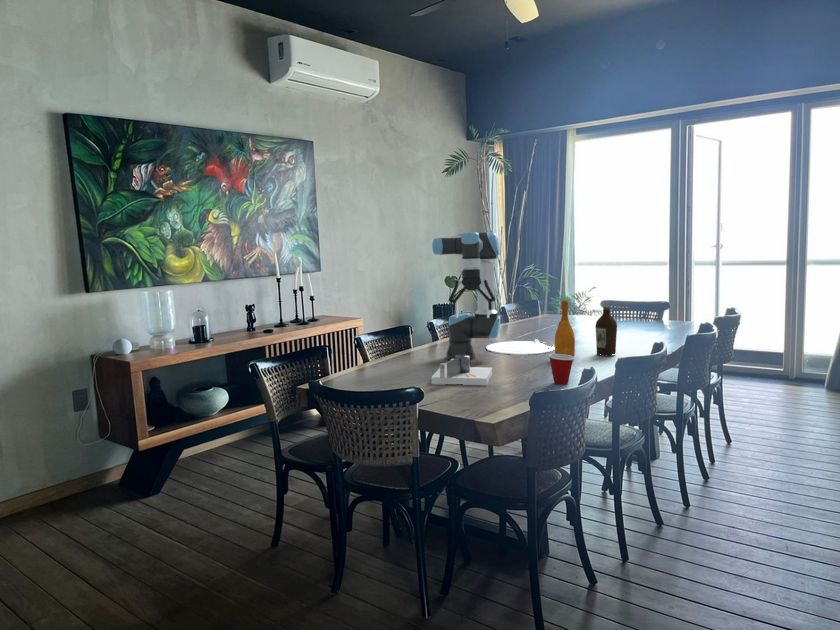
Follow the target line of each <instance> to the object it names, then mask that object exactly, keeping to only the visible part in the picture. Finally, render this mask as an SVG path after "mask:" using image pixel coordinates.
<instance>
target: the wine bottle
mask: <svg viewBox="0 0 840 630" xmlns="http://www.w3.org/2000/svg"><path fill="white" fill-rule="evenodd" d="M560 303H561V305H560V306H561V307H560V309H561V317H560V318H559V320H558V322H557V328H556V331H555V335H554V345H555V351H554V354H565V355H570V356H574V357H575V353H576V352H575V351H576V350H575V348H576V342H575V341H576V340H575V333H574V330H573V327H572V325H571V323H570V319H569V315H568V310H569V301H568V300H561V302H560Z"/></svg>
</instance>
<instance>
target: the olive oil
mask: <svg viewBox="0 0 840 630" xmlns="http://www.w3.org/2000/svg"><path fill="white" fill-rule="evenodd" d="M602 308H603V309H602V314H601V316H600V317H599V318H598V319H597V320H596V322H595V341H596V343H595V344H596V355H597V354H601V355H612V354H615V353H616V352H617V349H616V348H617V334H618V333H617V332H618V323H617V321H616V320H615V318H614V317H613V316H612V315H611V313H610V312H611V309H610V308H611V307H610V306H603V307H602Z"/></svg>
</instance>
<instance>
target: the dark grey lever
mask: <svg viewBox="0 0 840 630" xmlns="http://www.w3.org/2000/svg"><path fill="white" fill-rule="evenodd" d="M470 367H471V360H470V355H465V354H461V355H456V356H455V359H453V360H447V361H445V362H442V363H439V368H440V378H441V379H446V378H447V377H450V376H452V375H455V374H457V373H467V372H470Z"/></svg>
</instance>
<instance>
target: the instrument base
mask: <svg viewBox="0 0 840 630" xmlns="http://www.w3.org/2000/svg"><path fill="white" fill-rule="evenodd" d="M451 360H453V359H451ZM492 374H493V367H482V366H481V367H476V366H475V367H473V366H472V367H471V366H470V372H467V373H457V374H455V375H452V376H450V377H447V378H446V379H441V378H440V367H439V368H438V369H437V370H436V371H435V372H434V374H432V376H431V377H430V379H431V380H430V381H431V385H445V384H463V385H462V386H488V384H489V382H490V380H489V379H491V378H492ZM490 377H491V378H490Z"/></svg>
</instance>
